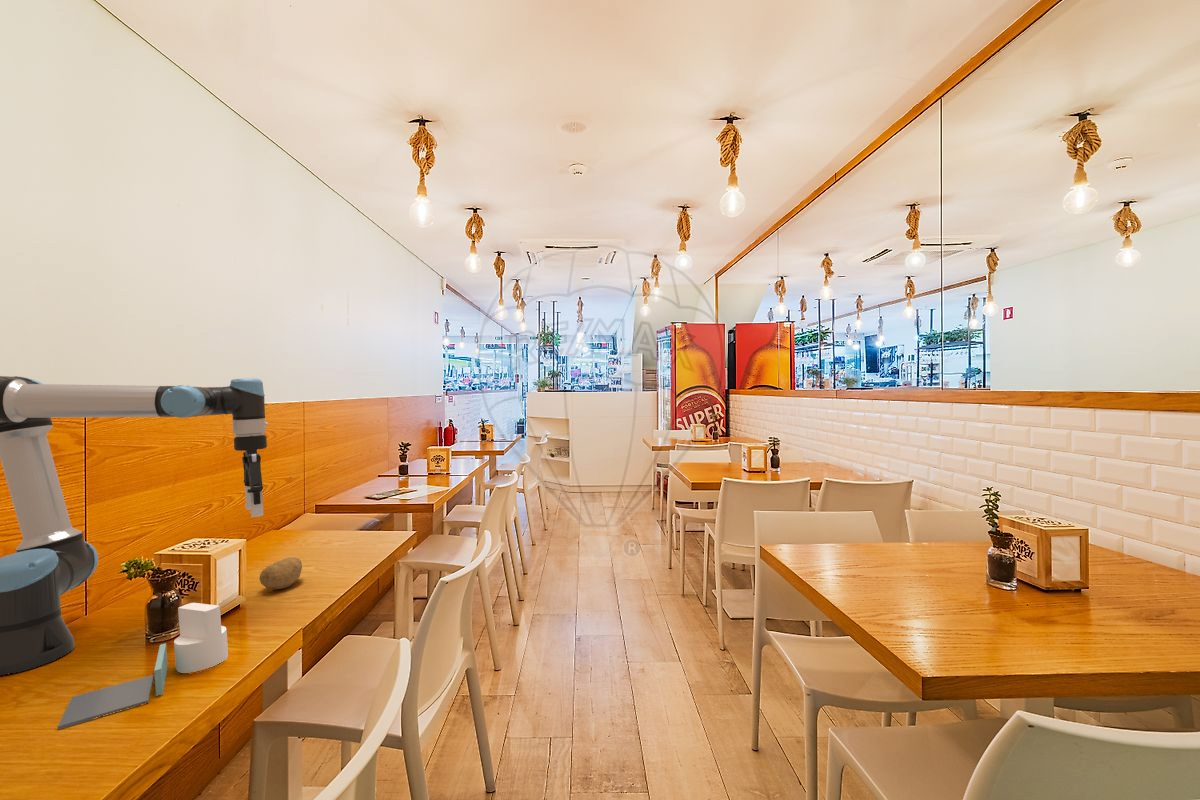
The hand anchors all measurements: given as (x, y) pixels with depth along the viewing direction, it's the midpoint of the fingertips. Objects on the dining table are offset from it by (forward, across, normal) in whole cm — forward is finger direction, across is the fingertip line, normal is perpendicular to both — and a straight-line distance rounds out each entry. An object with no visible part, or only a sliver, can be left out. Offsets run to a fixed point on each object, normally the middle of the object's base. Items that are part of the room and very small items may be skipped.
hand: (254, 512), depth 148 cm
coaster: (+25, -38, +28) cm, 53 cm away
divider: (+25, -35, +20) cm, 48 cm away
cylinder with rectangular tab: (+25, -32, +14) cm, 43 cm away
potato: (+25, +11, -7) cm, 28 cm away
